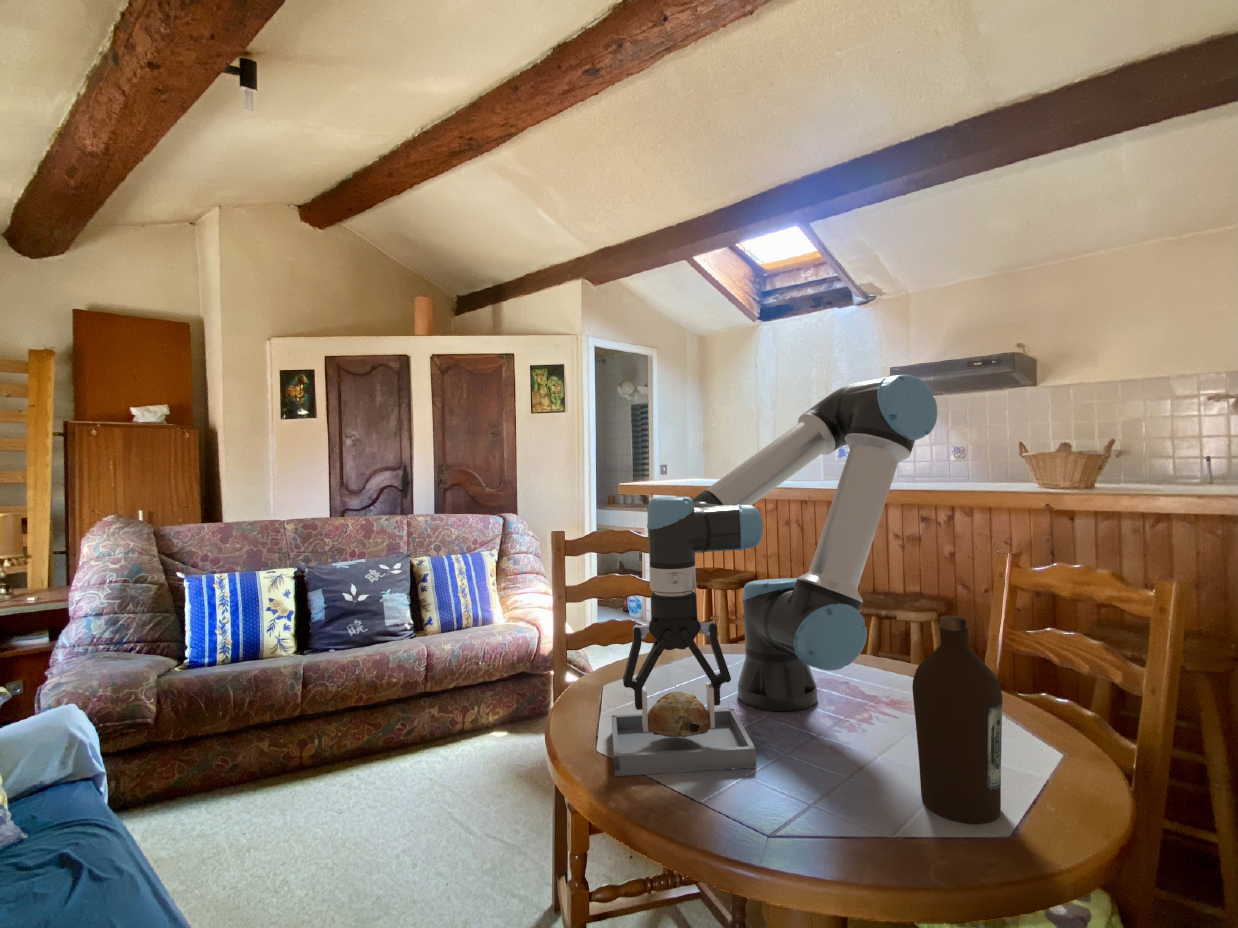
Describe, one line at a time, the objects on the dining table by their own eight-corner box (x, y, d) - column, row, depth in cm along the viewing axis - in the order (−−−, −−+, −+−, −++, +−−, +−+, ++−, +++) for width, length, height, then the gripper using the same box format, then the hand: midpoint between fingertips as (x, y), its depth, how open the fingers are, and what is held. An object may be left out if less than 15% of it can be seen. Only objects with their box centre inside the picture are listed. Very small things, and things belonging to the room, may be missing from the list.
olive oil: (910, 813, 84) (903, 623, 84) (922, 777, 93) (916, 606, 93) (1004, 836, 79) (997, 632, 78) (1007, 796, 88) (1001, 613, 87)
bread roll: (662, 763, 99) (672, 716, 98) (632, 723, 108) (641, 680, 107) (714, 754, 104) (725, 710, 102) (681, 717, 113) (690, 675, 111)
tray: (734, 725, 114) (733, 708, 114) (756, 768, 98) (755, 748, 98) (612, 732, 113) (611, 715, 113) (615, 776, 97) (614, 756, 97)
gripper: (604, 599, 101) (609, 740, 101) (747, 593, 102) (752, 732, 102) (603, 590, 109) (608, 720, 109) (737, 583, 110) (741, 713, 110)
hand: (678, 726), depth 106 cm, fingers closed on bread roll, 10 cm apart
